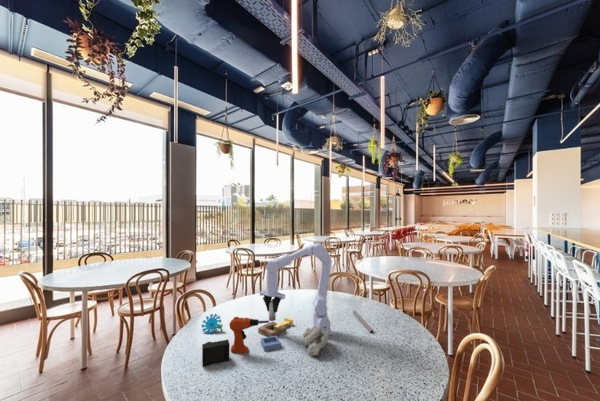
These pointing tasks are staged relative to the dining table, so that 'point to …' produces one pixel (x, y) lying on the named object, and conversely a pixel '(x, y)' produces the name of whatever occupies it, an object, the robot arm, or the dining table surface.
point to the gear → (212, 323)
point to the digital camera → (215, 352)
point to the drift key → (285, 323)
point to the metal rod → (363, 322)
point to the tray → (270, 343)
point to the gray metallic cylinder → (271, 312)
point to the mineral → (315, 339)
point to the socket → (268, 331)
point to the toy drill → (241, 333)
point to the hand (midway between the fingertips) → (272, 311)
